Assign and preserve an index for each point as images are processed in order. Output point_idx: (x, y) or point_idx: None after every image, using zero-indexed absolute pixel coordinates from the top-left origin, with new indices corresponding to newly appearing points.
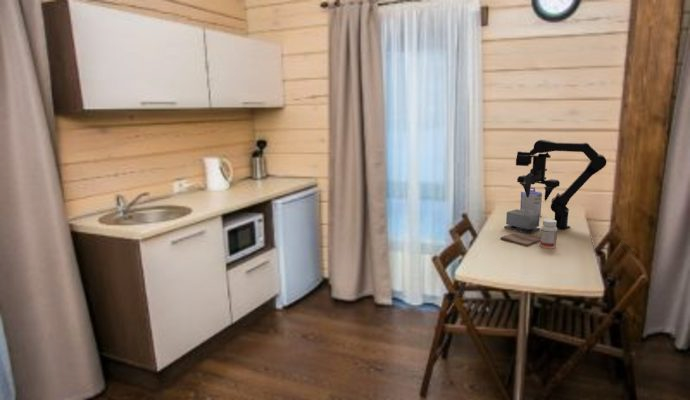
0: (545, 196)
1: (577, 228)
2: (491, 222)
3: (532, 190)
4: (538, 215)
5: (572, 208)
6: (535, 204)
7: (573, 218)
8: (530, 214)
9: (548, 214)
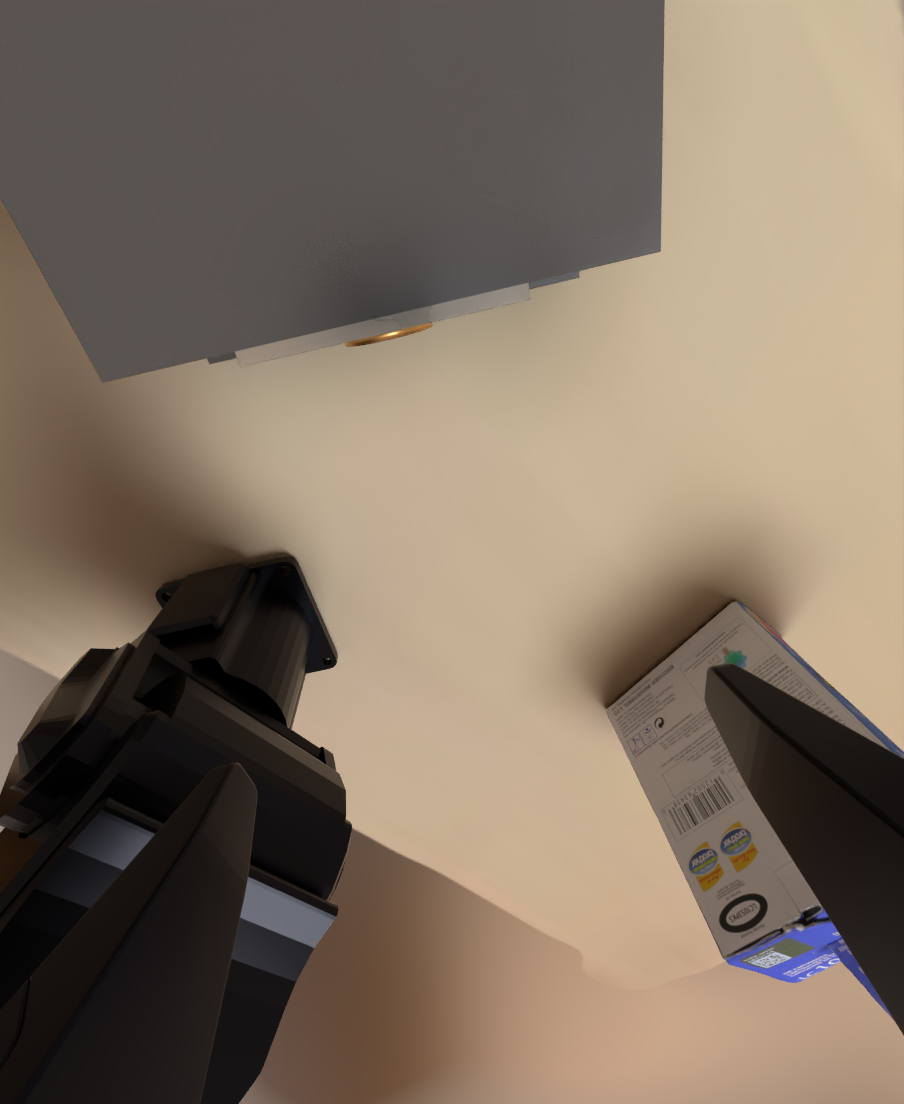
0: (139, 877)
1: None
2: (892, 8)
3: None
4: (93, 331)
5: (593, 928)
6: (700, 779)
7: (427, 830)
8: (91, 110)
9: (602, 779)
